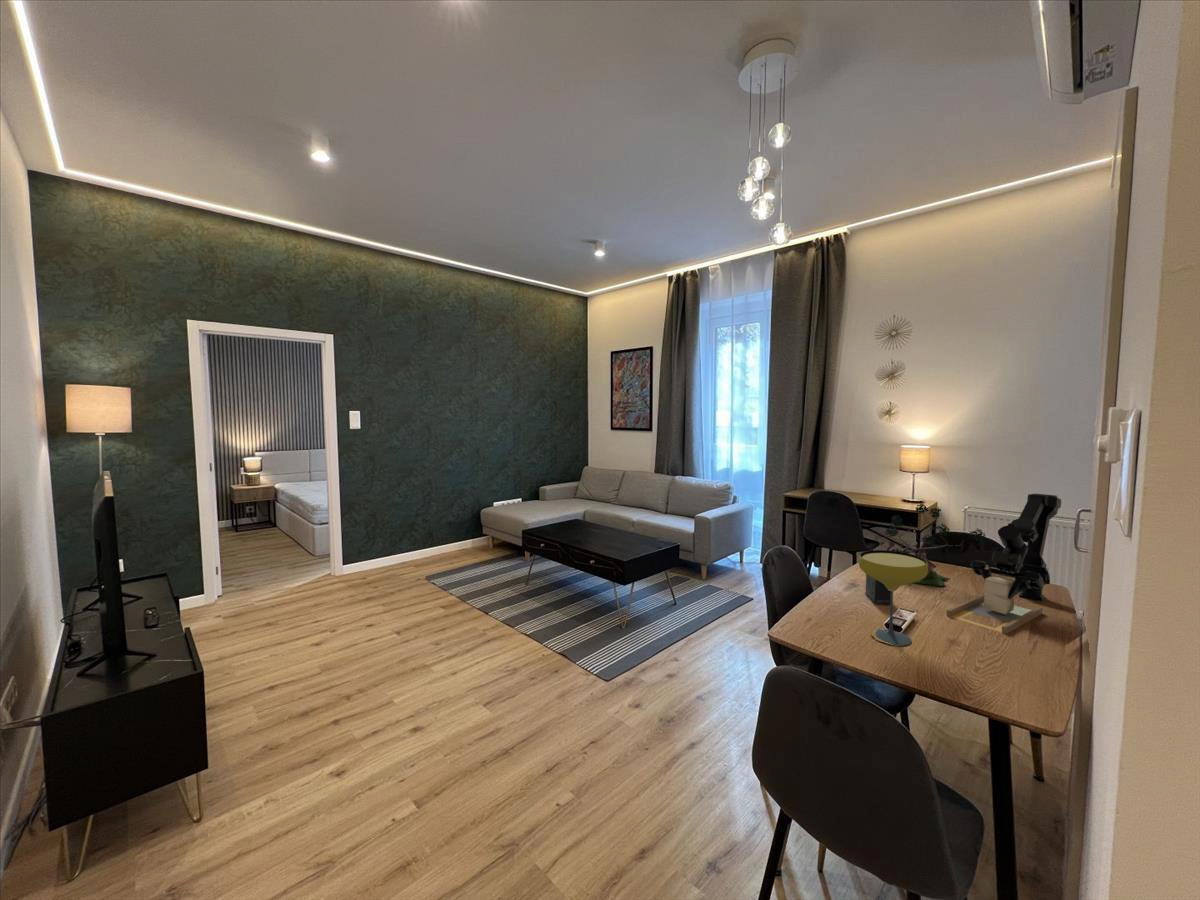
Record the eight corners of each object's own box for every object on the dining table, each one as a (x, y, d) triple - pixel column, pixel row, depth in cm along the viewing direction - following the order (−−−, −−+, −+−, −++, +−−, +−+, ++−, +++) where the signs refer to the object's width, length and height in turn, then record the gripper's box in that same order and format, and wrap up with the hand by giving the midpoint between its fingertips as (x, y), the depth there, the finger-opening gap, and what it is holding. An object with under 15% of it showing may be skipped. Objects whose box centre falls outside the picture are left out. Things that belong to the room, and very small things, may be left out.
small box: (894, 606, 174) (894, 577, 173) (874, 605, 175) (874, 576, 175) (883, 595, 184) (883, 567, 184) (864, 594, 186) (865, 567, 185)
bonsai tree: (872, 581, 199) (873, 504, 196) (887, 566, 216) (888, 496, 214) (980, 603, 175) (983, 515, 172) (988, 584, 192) (990, 504, 190)
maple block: (992, 604, 167) (992, 575, 166) (1013, 609, 162) (1014, 580, 161) (983, 608, 164) (984, 579, 163) (1005, 614, 159) (1006, 584, 158)
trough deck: (984, 602, 175) (984, 592, 175) (1041, 617, 161) (1042, 607, 161) (946, 620, 161) (946, 609, 161) (1005, 638, 148) (1006, 627, 147)
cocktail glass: (844, 632, 155) (845, 554, 153) (883, 621, 162) (885, 547, 160) (899, 657, 138) (900, 571, 136) (940, 644, 145) (942, 561, 144)
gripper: (973, 536, 171) (957, 574, 166) (1042, 549, 155) (1026, 590, 150) (983, 554, 176) (967, 591, 171) (1050, 568, 160) (1035, 609, 155)
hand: (997, 595), depth 162 cm, fingers closed on maple block, 6 cm apart
